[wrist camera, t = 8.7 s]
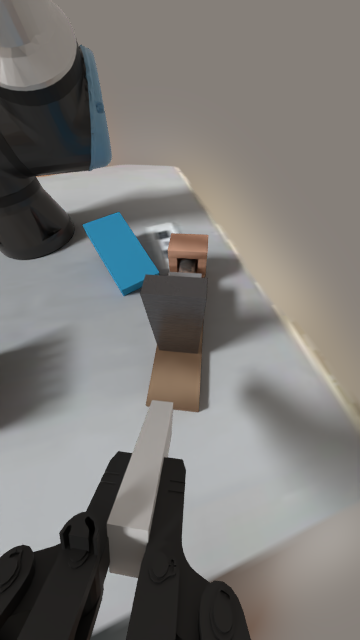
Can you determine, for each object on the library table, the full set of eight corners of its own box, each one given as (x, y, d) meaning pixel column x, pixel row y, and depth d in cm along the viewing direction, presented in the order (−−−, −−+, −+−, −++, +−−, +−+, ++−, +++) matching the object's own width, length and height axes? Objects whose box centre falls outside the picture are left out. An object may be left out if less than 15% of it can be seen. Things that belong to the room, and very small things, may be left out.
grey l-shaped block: (197, 353, 23) (206, 298, 13) (159, 350, 24) (140, 293, 14) (203, 267, 31) (210, 193, 21) (174, 266, 32) (168, 192, 22)
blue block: (158, 291, 37) (117, 227, 40) (159, 272, 30) (109, 197, 34) (128, 306, 35) (87, 238, 39) (121, 290, 29) (73, 209, 32)
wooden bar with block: (198, 412, 21) (202, 405, 15) (147, 406, 22) (133, 397, 16) (205, 267, 33) (209, 232, 28) (173, 265, 34) (170, 231, 28)
